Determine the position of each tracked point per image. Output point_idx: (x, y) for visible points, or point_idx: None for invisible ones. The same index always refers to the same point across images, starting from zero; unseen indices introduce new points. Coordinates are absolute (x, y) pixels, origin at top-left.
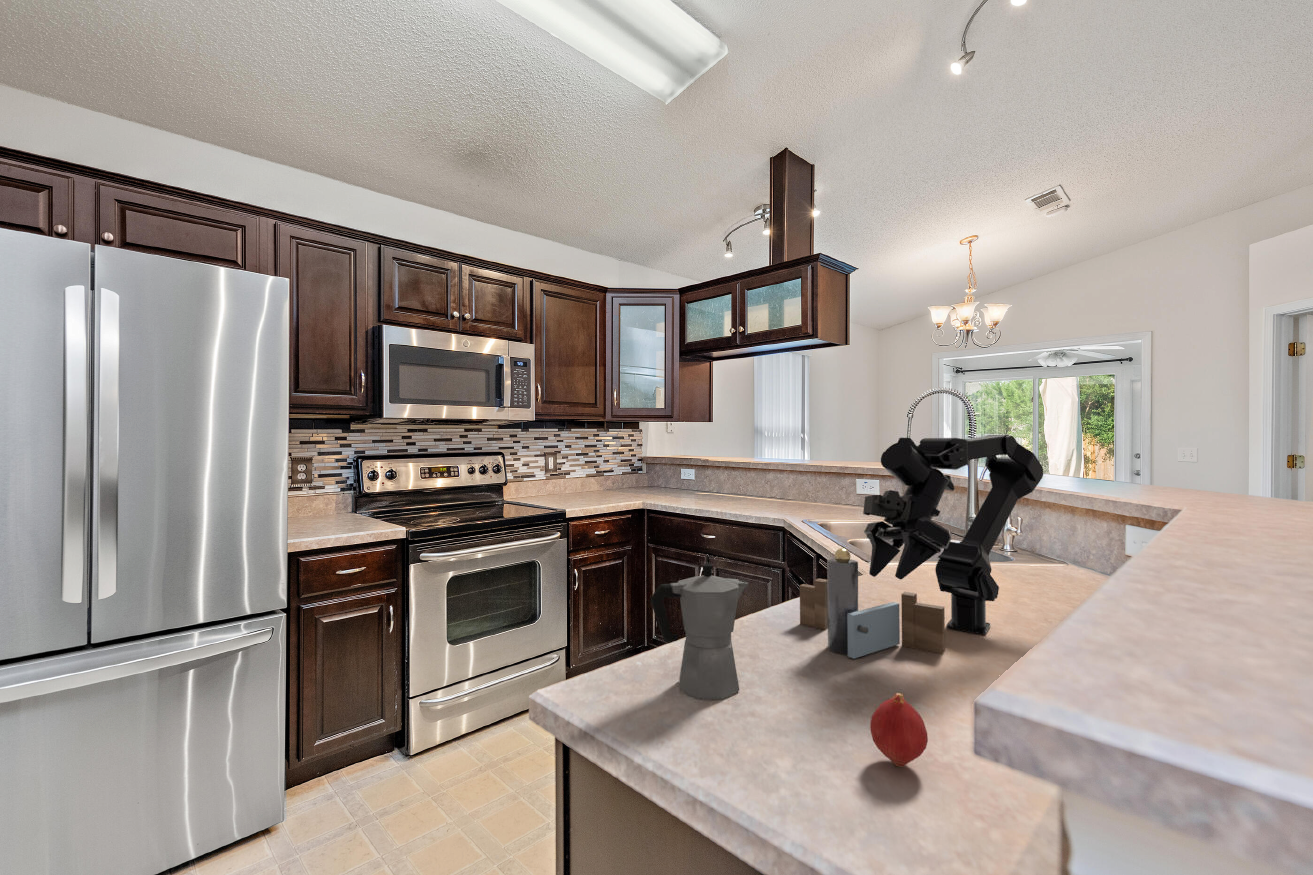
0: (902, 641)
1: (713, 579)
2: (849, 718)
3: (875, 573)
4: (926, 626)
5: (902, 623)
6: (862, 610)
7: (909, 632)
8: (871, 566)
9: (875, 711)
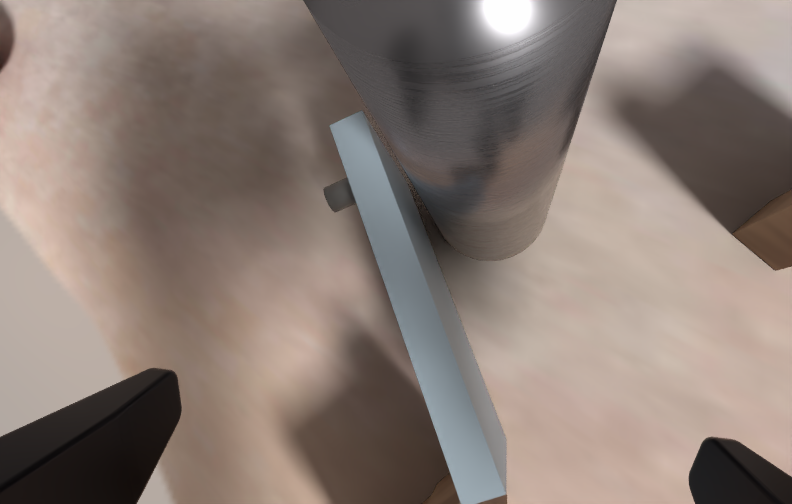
0: None
1: None
2: (125, 48)
3: (705, 501)
4: None
5: None
6: (390, 206)
7: (442, 491)
8: (783, 495)
9: None
